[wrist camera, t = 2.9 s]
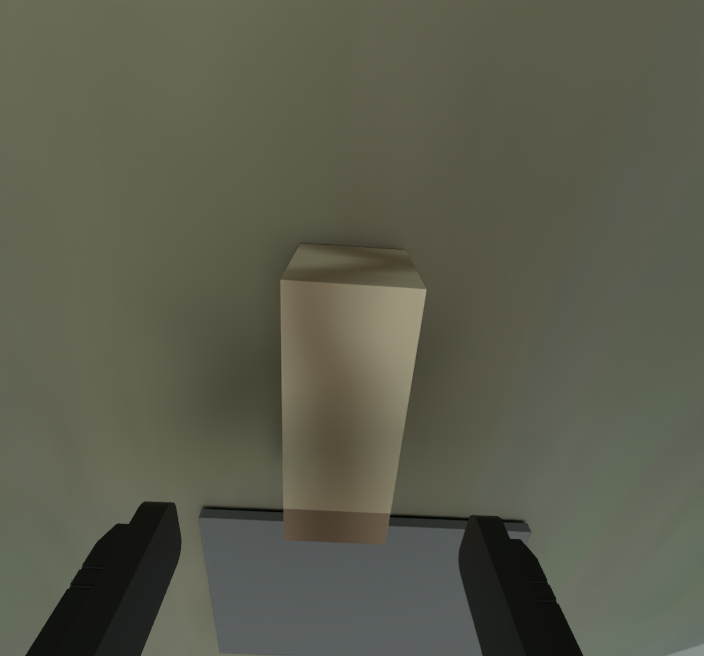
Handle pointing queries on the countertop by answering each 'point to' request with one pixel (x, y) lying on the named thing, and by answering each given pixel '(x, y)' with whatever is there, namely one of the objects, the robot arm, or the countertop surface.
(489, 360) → the countertop surface
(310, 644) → the mat
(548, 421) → the countertop surface
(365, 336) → the maple bar
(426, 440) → the countertop surface
